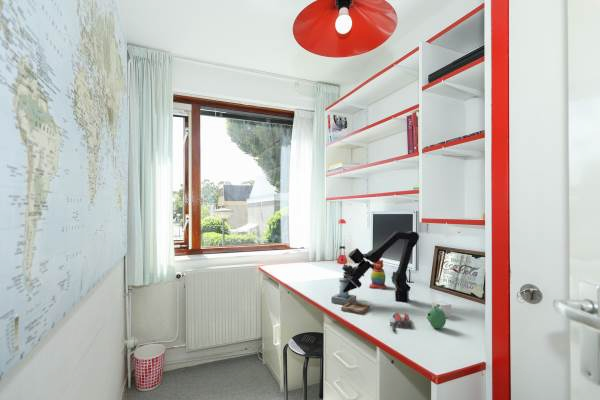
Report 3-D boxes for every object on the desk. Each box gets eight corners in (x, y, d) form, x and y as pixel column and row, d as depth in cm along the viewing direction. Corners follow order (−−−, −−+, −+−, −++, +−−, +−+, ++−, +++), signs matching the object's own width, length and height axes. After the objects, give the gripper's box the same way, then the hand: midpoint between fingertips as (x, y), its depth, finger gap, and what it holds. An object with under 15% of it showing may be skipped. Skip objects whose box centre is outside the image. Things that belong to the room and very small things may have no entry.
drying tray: (370, 308, 165) (370, 305, 165) (361, 314, 156) (361, 310, 156) (350, 305, 171) (350, 301, 171) (341, 310, 162) (341, 306, 162)
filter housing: (356, 301, 178) (356, 295, 178) (348, 305, 170) (348, 299, 170) (339, 298, 184) (339, 292, 184) (331, 302, 175) (331, 297, 176)
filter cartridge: (350, 301, 178) (350, 278, 178) (346, 303, 173) (346, 280, 174) (341, 299, 180) (341, 277, 181) (337, 302, 176) (337, 279, 176)
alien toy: (429, 323, 144) (429, 301, 144) (448, 327, 139) (447, 304, 139) (424, 328, 138) (424, 304, 138) (443, 332, 133) (443, 308, 134)
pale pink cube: (451, 317, 153) (451, 304, 153) (441, 318, 151) (440, 305, 151) (442, 313, 159) (442, 300, 159) (432, 314, 157) (432, 301, 157)
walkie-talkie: (388, 317, 152) (391, 333, 133) (388, 308, 152) (390, 323, 133) (408, 319, 150) (413, 335, 131) (408, 309, 150) (413, 324, 131)
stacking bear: (369, 288, 207) (369, 260, 208) (370, 284, 217) (370, 258, 217) (386, 289, 204) (386, 261, 205) (386, 285, 214) (386, 259, 214)
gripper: (346, 256, 187) (328, 276, 186) (355, 262, 169) (334, 283, 167) (360, 270, 188) (341, 289, 186) (370, 276, 169) (349, 298, 168)
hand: (341, 289), depth 177 cm, fingers open, 9 cm apart
